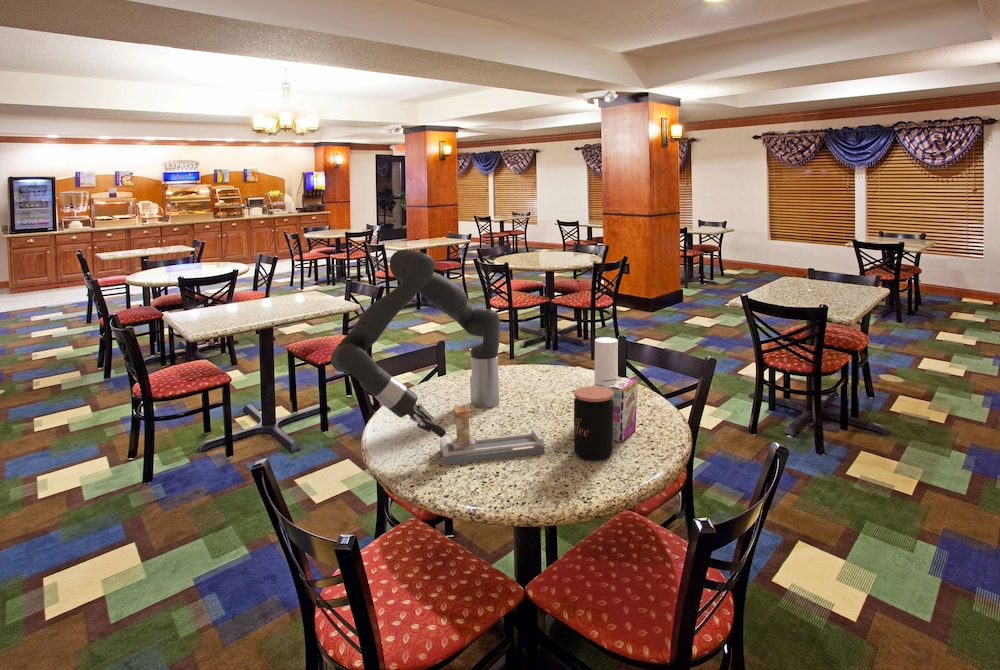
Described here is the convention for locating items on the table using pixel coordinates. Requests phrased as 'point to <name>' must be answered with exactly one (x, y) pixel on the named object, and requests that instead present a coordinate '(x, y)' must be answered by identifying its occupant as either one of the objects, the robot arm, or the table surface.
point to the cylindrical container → (605, 361)
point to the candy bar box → (624, 408)
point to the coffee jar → (593, 422)
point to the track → (495, 448)
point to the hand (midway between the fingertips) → (443, 434)
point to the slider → (462, 429)
